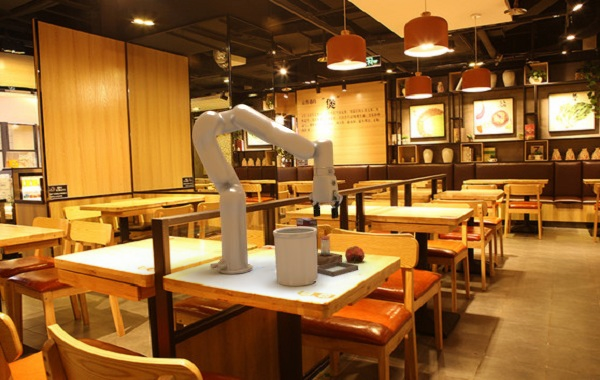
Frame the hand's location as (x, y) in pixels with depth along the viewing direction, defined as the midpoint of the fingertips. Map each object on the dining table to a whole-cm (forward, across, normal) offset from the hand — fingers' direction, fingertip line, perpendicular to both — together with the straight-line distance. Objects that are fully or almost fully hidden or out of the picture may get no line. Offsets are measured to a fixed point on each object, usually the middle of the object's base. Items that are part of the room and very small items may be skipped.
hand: (325, 217), depth 170 cm
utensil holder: (+18, -7, +22) cm, 30 cm away
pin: (+18, 0, +1) cm, 18 cm away
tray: (+19, -10, +7) cm, 22 cm away
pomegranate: (+19, -6, -8) cm, 22 cm away
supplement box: (+19, +18, -6) cm, 27 cm away
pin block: (+19, 0, +1) cm, 19 cm away
